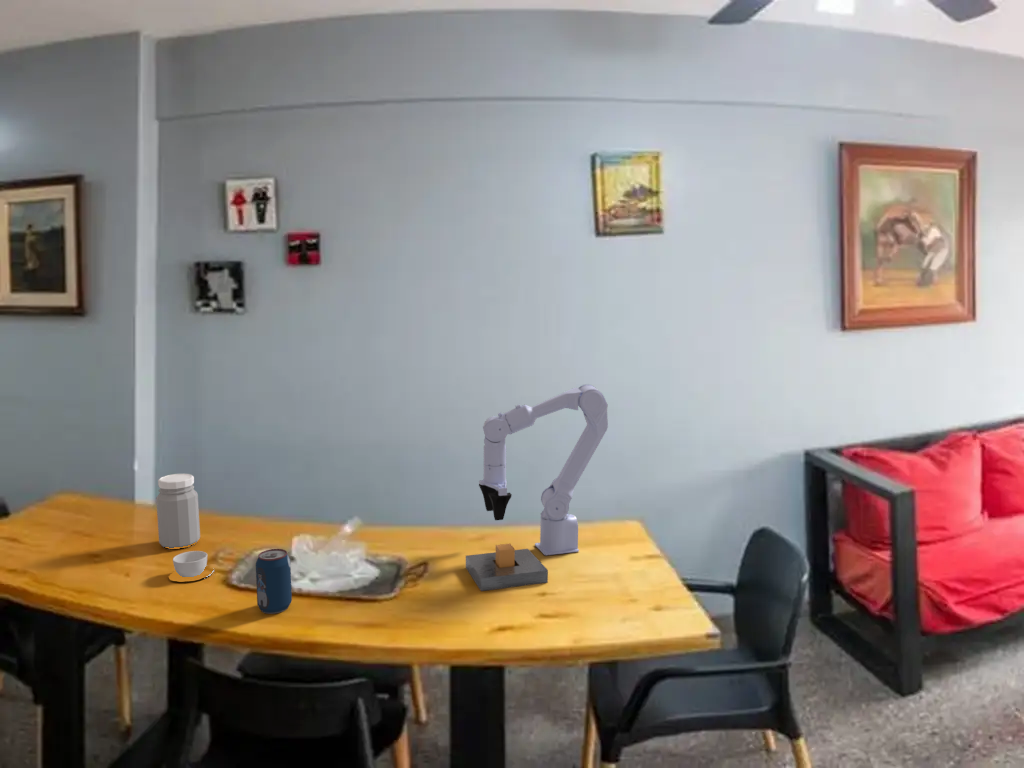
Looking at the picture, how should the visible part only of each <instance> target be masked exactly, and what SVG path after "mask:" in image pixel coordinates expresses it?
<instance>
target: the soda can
mask: <svg viewBox="0 0 1024 768" xmlns="http://www.w3.org/2000/svg"><path fill="white" fill-rule="evenodd" d="M257 557H258V558H257V559H256V561H255V575H256V576H255V581H256V602H257V606H258V608H259V610H260V611H261V612H262V613H264V614H271V615H276V614H279V613H282V612H285V611H287V610H288V609H289V607H290V605H291V603H292V601H293V598H292V597H293V595H292V571H291V570H292V569H291V567H292V566H291V558H290V557H289V555H288V551H287V550H285V549H283V548H272V549H271V548H270V549H265V550H263V551H261V552H259V553H258V556H257Z"/></svg>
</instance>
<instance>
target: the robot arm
mask: <svg viewBox="0 0 1024 768" xmlns="http://www.w3.org/2000/svg"><path fill="white" fill-rule="evenodd" d="M514 406H515V408H512V409H509V410H507V411H506V412H503V413H502V411H500V412H498V413H497V415H498V416H497V415H492V416H489V417H487V418H486V420H485V421H484V423H483V426H482V429H483V433H484V439H483V443H484V445H483V477H482V478H483V479H482V480H479V481H478V487H479V489H480V491H481V494H482V495H483V502H484V506H485V510H486V511H487V512H493V514H492V515H493V519H494V521H502V520H504V518H505V514H506V509H507V507H508V503H510V500H511V498H512V496H513V495H512V493H511V492H508V487H507V484H508V483H507V482H508V480H507V445H506V437H507V435H512V434H515V433H518V432H520V431H523V430H524V429H527V428H530V427H532V426H534V424H535V422H536V420H537V419H539V418H542V417H544V416H547V415H549V414H552V413H555V412H558V411H560V410H564V409H570V410H574V411H579V408H580V410H581V411H582V413H583V416H584V420H585V422H586V425H585V427H584V429H583V430H582V433H581V435H580V436H579V438H578V440H577V442H576V444H575V445H574V448H573V449H572V451H571V452H570V454H569V456H568V458H567V460H566V461H565V463H564V465H563V466H562V468H561V470H560V472H559V474H558V476H557V477H556V478H555V479H554V480H552V482H551V483H550V485H549V486H547V488H545V489H544V490H543V491H542V492H541V495H540V502H541V503H542V506H543V510H541V513H540V524H539V525H540V531H539V532H540V534H539V535H540V536H539V538H540V539H539V542H535V543H534V546H535V547H536V548H537V549H538V550H539V551H540V552H541V553H542V554H543V555H544V556H553V555H562V554H569V553H578V552H580V549H579V523H578V518H577V517H576V516H575V515H574V514H571V513H570V514H569V511H570V503H571V500H572V499H573V496H574V490H575V487H576V486H577V483H578V482H579V480H580V479H581V476H582V475H583V473H584V471H585V469H586V468H587V466H588V464H589V463H590V460H591V459H592V458H593V456H594V453H595V452H596V450H597V448H598V446H599V444H600V442H601V441H602V440H603V437H604V436H605V434H606V432H607V431H608V428H609V425H608V424H609V423H608V421H609V420H608V419H609V418H608V402H607V400H606V398H605V396H604V394H603V393H602V392H601V391H600V390H599V389H597V388H596V387H595V386H594V385H592V384H589V383H586V384H582V385H580V386H579V387H578V386H576V387H572V388H570V389H568V390H565V391H563V392H561V393H559V394H556V395H554V396H552V397H550V398H548V399H545V400H543V401H541V402H539V403H537V404H535V405H532V406H530V405H527V404H523V405H522V404H520V403H518V404H516V405H514Z"/></svg>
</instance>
